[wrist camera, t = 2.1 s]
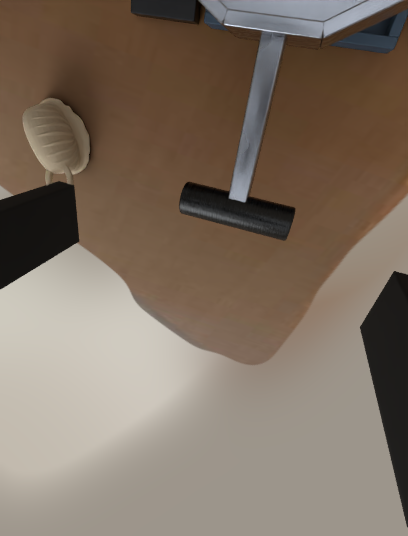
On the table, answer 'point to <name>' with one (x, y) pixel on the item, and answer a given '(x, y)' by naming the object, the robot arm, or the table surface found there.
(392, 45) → the tray
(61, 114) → the decorative ornament
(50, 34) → the table surface
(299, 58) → the table surface
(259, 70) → the grey frying pan
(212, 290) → the table surface
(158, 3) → the stand
